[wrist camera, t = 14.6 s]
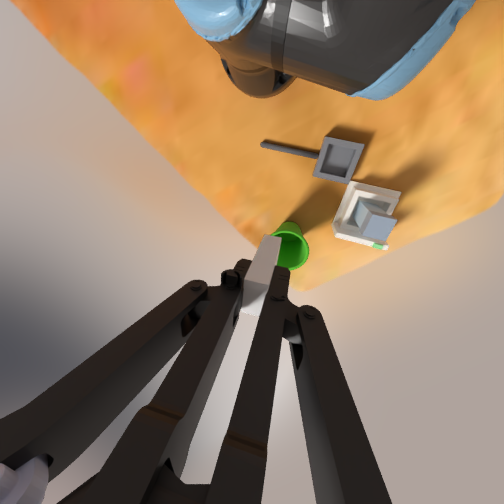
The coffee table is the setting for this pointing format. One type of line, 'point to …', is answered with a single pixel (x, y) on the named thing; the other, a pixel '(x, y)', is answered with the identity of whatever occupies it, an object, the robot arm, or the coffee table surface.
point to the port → (354, 192)
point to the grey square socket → (337, 160)
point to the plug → (373, 220)
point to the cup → (291, 246)
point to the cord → (289, 150)
